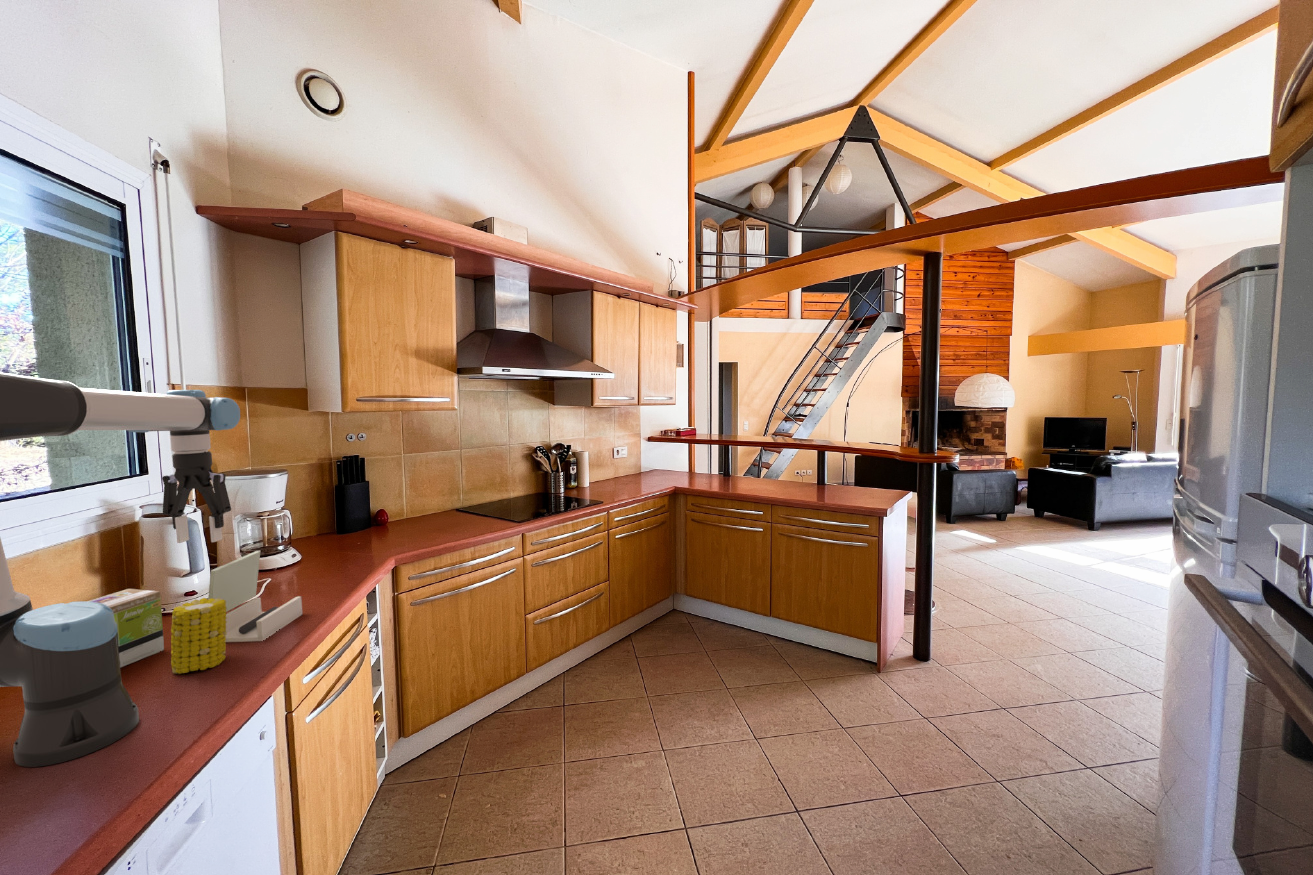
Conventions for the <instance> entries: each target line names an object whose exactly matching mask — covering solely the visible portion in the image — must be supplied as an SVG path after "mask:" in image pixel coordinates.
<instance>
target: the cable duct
mask: <svg viewBox="0 0 1313 875" xmlns="http://www.w3.org/2000/svg"><path fill="white" fill-rule="evenodd" d="M264 612H265V611H263V610H262V599H261V597H254V598H252V599H250V600H248V601H246V603H243V604H241V605H239V607H238V606H237V607H235V609H232V610H230V611H228V612H226V617H227V618H226V632H227V635H225V636H226V641H225V643H238V642H239V643H240V642H241V643H243V642H244V643H245V642H246V643H247V642H264V641H265V640H266V638H267V639H268V638H269V636H270V637H271V636H272V635H274V634H275V633H277V632H278V631H280V630H282V629H283V628H285V627H286V626H287V625H288V624H290V623H292V622H293V621H294V620H296V619H298V618H299V617H301V616H302V615H303V602H302V596H295V597H293V598H292V599H290V600H289V601H287V602H285V603H284V604H282V605H281V606H279V607H278V608H277V609H276V610H274V611H272V612H271V613H269V614H267V615H266V616H264V617H263V618H261V619H259V620H258V621H256V624H257V627H255V628H253V629H252V630H250V631H249V632H247V633H245V634H241V633H240V632H239V628H240V627H241V626H243V625H245V624H246V623H248V622H250V621H251V620H253V619H255V618H256V617H258V616H259V615H261V614H263V613H264ZM279 629H280V630H279ZM276 631H277V632H276ZM263 640H264V641H263Z"/></svg>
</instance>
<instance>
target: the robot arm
mask: <svg viewBox="0 0 1313 875" xmlns="http://www.w3.org/2000/svg"><path fill="white" fill-rule="evenodd" d="M240 421H241V409H240V406H239V404H238V403H237V402H236V401H235V400H234V399H232V398H229V397H220V396H215V397H207V395H206V392H205V391H203V390H201V389H170V390H167V392H166V393H165V394H164V393H152V392H151V393H150V392H139V391H137V392H136V391H127V390H126V391H125V390H113V389H102V388H101V389H97V388H86V387H85V388H84V387H79V386H78V385H76V384H75V383H72V382H70V381H66V380H58V379H48V378H41V377H36V376H35V377H34V376H26V375H20V374H14V373H8V372H7V373H6V372H1V371H0V442H3V441H4V442H6V441H12V440H13V441H14V440H20V439H31V438H36V437H37V438H41V437H62V436H63V437H64V436H69V435H71V434H72V435H73V434H74V433H76V432H77V431H127V432H130V433H142V434H143V433H149V432H169V433H170V434H169V436H170V446H171V447H170V449H171V452H173V454H172V456H171V457H172V467H173V468H174V469H175V471H174V474H173V473H172V474H168V475H163V476H162V478H161V480H162V482H163V501H162V502H163V503H162V504H163V505H162V514H163V515H164V516H165V515H168V516H170V517H171V520H172V527H173V530H175V531H176V533H175V534H176V542H177V544H182V543H184V542H187V541H190V534H189V526H188V515H187V514H186V512H184V511H185V509H186V506H187V503H188V500H189V496H190V494H191V492H192V491H193V489H195V490H197V491H198V493H200V494H201V496H202V497H203V500H204V502H205V503H206V505H207V507H208V510H209V511H210V512H211V515H210V516H208V521H209V533H210V542H211V543H216V542H219V541H221V540H223V530H222V528H224V525H225V523H224V522H225V521H224V514H226V513H228V512H231V511H232V507H231V506H232V505H231V502H230V499H229V493H228V490H227V485H226V477H227V476H226V474H225V473H216V472H214V471H213V470H212V465H213V457H212V454H213V453H212V452H211V451H209V450H210V449H211V448H212V447H211V435H210V431H217V432H219V431H225V430H232V429H234V428H236V427H237V425H238V424H239V422H240ZM5 554H6V553H5V549H4V547H3V543H2V539H1V537H0V688H1V687H2V688H3V687H4V688H5V687H21V689H22V697H23V698H22V699H23V704H24V713H23V717H22V719H21V723H20V728H19V732H18V737H17V738H16V740H14V744H13V746H12V747H13V749H12V752H13V758H14V760H13V761H14V763H15V764H16V765H18V766H20V767H26V768H27V767H28V768H34V767H36V768H37V767H45V766H50V765H51V766H52V765H56V764H61V763H65V762H67V761H71V760H75V759H78V758H80V757H83V756H86V755H88V754H91V753H93V752H94V753H95V752H96V751H99V750H101V749H103V748H105V747H108V746H110V745H111V744H114V743H115V742H117V741H119V740H120V739H121V738H124V737H125V736H126V735H128V734H129V733H130V732H131V731H133V730H135V728H136V727H137V725H138V724H139V722H140V716H139V715H140V714H139V708H138V705H137V704H136V703H135V702H133V699H132V697H131V695H130V694H129V692H128V691H127V688H126V686H124V684H123V682H122V681H123V680H122V673H121V668H120V659H119V647H118V634H117V624H116V622H115V619H114V614H113V611H112V609H111V608H110V607H108V606H107V605H105V604H102V603H97V602H87V601H88V600H87V601H81V600H80V601H79V600H78V601H70V602H68V603H63V602H61V603H55V604H50V605H46V606H41V607H37V608H33V604H32V602H31V598H30V596H29V595H28V594H25V593H22V592H19V591H16V590H15V588H14V585H13V584H14V583H13V581H12V577H11V572H10V569H9V565H8V562H7V558H6V555H5Z"/></svg>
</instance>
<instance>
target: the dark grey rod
mask: <svg viewBox="0 0 1313 875" xmlns="http://www.w3.org/2000/svg"><path fill="white" fill-rule="evenodd" d="M277 608H279V607H278V606H273V607H272V608H269V609H268V610H266V611H263V612H264V613H263V614H261V615H259V616H258V617H256V618H255V619H253V620H251V621H250V622H248V623H246V624H245V625H243V626H241V627H240V628H239V632H240V633H241V634H245V633H247V632H249V631H250V630H252V629H253V628H255V627H257V624H256V621H258V620H259V619H261V618H263V617H264V616H266V615H267V614H269V613H271V612H272V611H274V610H276V609H277Z"/></svg>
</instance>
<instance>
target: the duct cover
mask: <svg viewBox="0 0 1313 875" xmlns="http://www.w3.org/2000/svg"><path fill="white" fill-rule="evenodd" d="M260 556H261V551H260V550H259V551H258V550H255V551H253V552H251V553H249V554H246V555H243V556H241V557H239V558H236V559H235V560H232V561H230V562H227V563H225V564H223V565H220V566H218V567H215V568H214V569H210V575H209V576H210V577H209V584H208V585H209V586H208V596H207V599H208V600H209V599H211V598H213V599H215V600H216V599H218V598H220V599H221V600H222V599H223V600H225V601H226V605H225V606H226V608H227V609H226V613H228V612H230V611H232V610H234V608H235V609H236V608H238V606H241V605H243V604H245V602H246V603H247V602H248V601H250V600H252V599H254V598H256V596H257V587H258V581H259V580H258V579H259V571H260V570H259V568H260V558H261V557H260Z"/></svg>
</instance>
